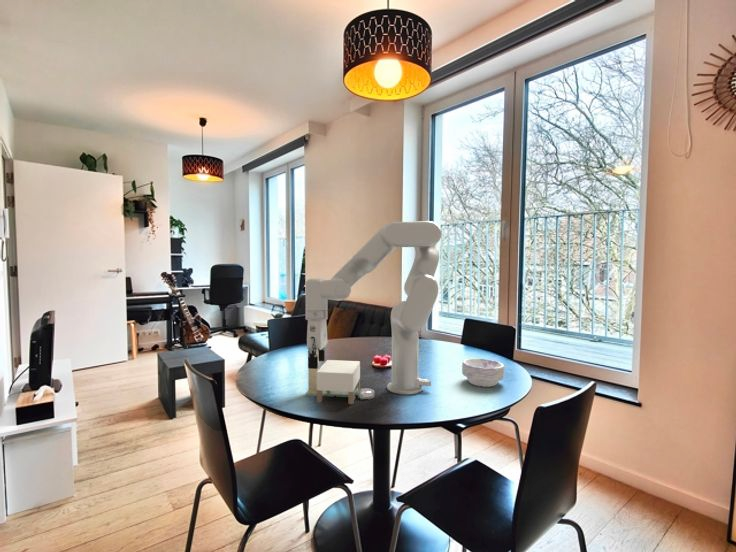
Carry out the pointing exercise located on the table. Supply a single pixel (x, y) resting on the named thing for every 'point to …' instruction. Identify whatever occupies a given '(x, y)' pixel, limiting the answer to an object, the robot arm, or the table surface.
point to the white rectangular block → (338, 378)
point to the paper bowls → (483, 371)
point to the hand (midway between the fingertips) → (316, 364)
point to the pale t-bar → (313, 390)
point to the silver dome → (365, 393)
